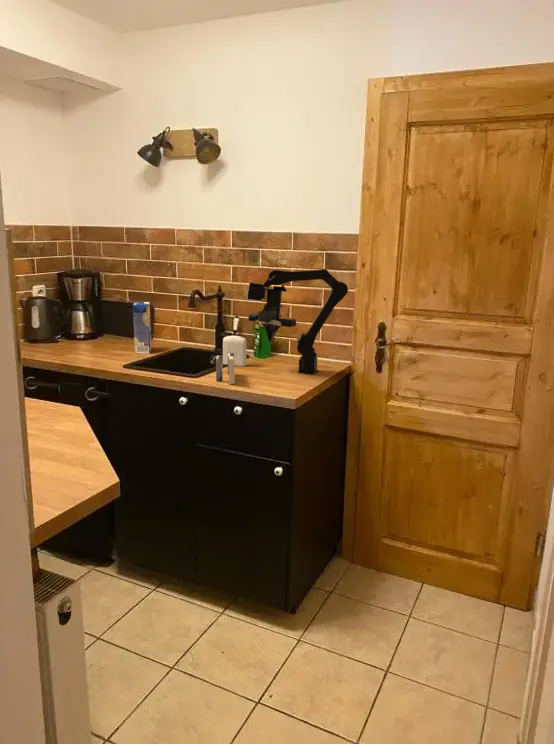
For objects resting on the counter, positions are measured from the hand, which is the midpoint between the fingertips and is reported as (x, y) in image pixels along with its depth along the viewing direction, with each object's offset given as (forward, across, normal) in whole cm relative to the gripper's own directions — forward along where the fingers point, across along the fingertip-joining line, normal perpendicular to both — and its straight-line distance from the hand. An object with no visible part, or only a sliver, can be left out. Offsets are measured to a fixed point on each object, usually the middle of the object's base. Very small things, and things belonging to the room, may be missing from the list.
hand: (270, 341), depth 226 cm
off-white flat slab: (+13, -5, -20) cm, 24 cm away
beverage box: (+16, -68, +6) cm, 70 cm away
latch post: (+14, -8, -23) cm, 28 cm away
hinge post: (+13, -10, -12) cm, 21 cm away
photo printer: (+14, -17, +3) cm, 22 cm away
